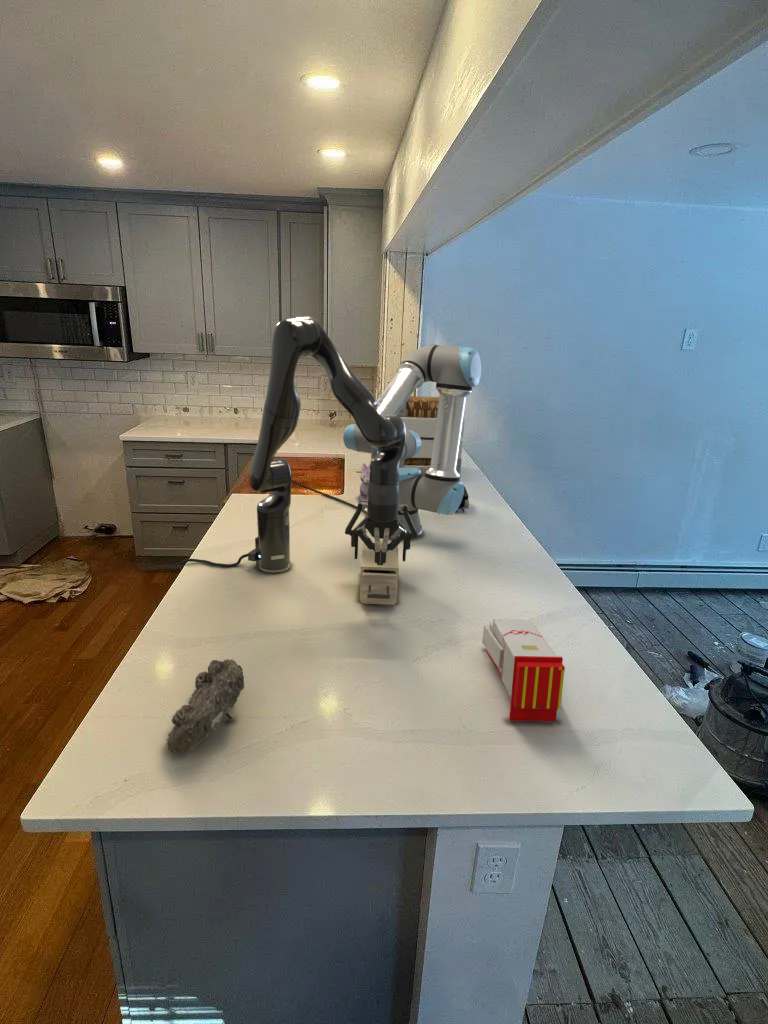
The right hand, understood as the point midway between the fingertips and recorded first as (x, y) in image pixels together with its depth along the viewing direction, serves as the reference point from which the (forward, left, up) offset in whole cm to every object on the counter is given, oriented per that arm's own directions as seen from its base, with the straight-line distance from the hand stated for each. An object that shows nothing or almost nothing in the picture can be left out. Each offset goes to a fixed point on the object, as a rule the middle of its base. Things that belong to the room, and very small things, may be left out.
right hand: (379, 558), depth 161 cm
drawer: (+7, -6, -7) cm, 12 cm away
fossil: (+24, -62, -8) cm, 67 cm away
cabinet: (+2, -2, -8) cm, 8 cm away
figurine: (-61, +46, -8) cm, 76 cm away
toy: (+52, -5, -8) cm, 53 cm away
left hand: (+13, -11, +6) cm, 18 cm away
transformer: (-77, +91, -8) cm, 120 cm away
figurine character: (-32, +69, -8) cm, 76 cm away
